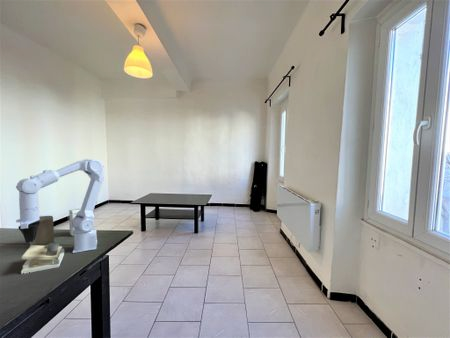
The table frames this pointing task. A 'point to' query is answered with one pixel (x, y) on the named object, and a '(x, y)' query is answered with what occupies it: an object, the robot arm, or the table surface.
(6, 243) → the table surface
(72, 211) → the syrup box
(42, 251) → the plate
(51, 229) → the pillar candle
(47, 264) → the stand
